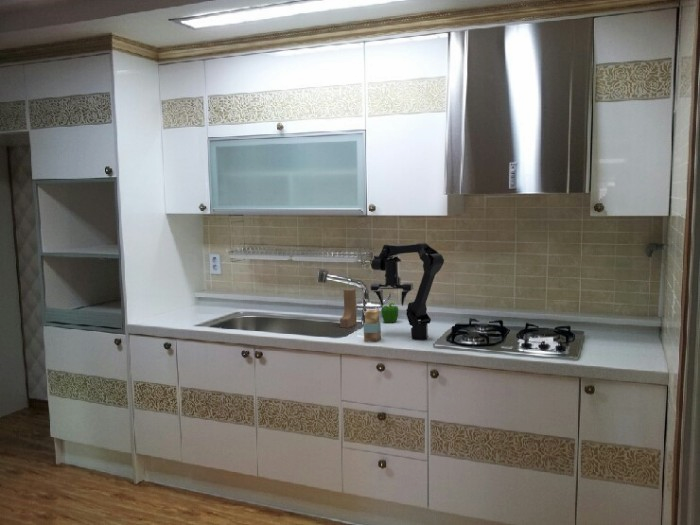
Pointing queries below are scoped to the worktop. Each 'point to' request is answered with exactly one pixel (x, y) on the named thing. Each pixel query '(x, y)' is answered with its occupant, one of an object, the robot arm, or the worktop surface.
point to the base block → (372, 336)
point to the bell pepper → (390, 313)
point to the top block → (372, 327)
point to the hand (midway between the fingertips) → (392, 305)
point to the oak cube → (372, 316)
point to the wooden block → (349, 309)
